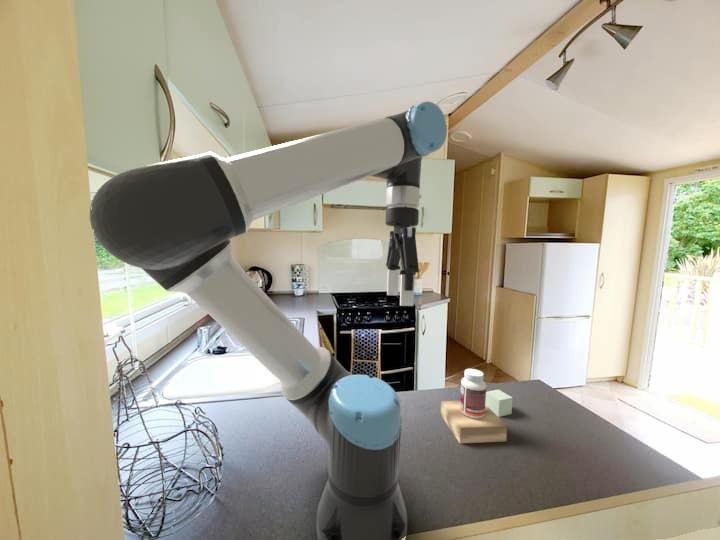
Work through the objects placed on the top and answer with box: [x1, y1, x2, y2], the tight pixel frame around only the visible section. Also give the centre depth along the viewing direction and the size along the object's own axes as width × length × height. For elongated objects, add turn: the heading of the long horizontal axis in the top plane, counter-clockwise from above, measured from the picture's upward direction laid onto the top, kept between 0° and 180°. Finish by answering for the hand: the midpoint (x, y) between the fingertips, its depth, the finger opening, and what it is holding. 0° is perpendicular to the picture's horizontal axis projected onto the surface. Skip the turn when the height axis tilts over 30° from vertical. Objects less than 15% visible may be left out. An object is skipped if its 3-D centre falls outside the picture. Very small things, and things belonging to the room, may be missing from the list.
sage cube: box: [485, 389, 513, 418], centre depth 83 cm, size 5×5×5 cm
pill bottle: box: [459, 368, 487, 419], centre depth 74 cm, size 6×6×11 cm
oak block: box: [440, 400, 508, 444], centre depth 75 cm, size 12×12×4 cm
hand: (398, 299), depth 66 cm, fingers open, 13 cm apart
